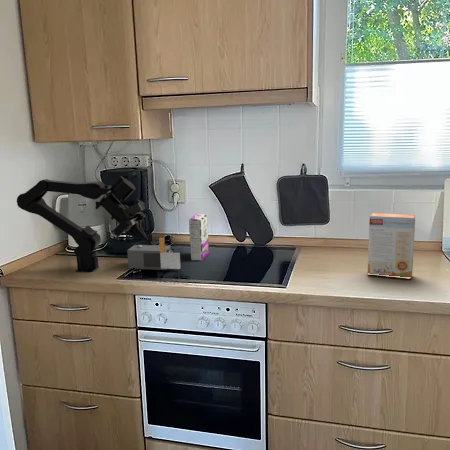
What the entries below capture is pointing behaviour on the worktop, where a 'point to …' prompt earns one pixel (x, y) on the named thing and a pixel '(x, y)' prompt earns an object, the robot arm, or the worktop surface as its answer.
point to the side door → (168, 257)
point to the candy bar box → (199, 237)
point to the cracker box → (391, 244)
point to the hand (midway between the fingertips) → (147, 240)
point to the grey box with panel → (145, 257)
